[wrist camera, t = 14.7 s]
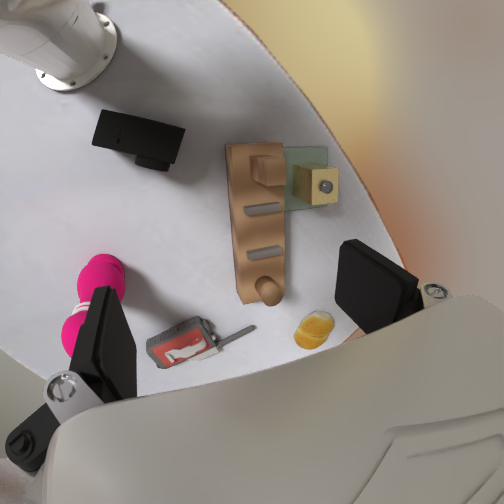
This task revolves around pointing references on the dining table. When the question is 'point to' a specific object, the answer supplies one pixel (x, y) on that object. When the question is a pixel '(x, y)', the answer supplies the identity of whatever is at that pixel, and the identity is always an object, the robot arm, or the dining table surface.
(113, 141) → the digital camera
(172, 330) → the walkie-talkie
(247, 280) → the plane body
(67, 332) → the pepper mill
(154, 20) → the dining table surface
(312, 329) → the bread roll
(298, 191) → the lever cap
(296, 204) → the felt pad
